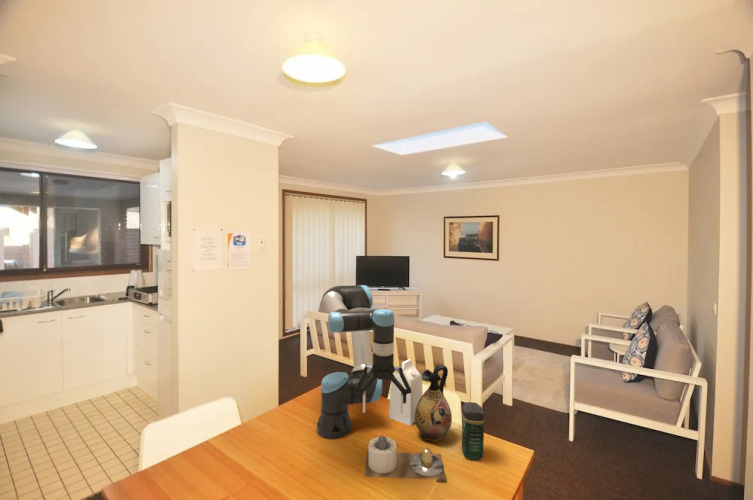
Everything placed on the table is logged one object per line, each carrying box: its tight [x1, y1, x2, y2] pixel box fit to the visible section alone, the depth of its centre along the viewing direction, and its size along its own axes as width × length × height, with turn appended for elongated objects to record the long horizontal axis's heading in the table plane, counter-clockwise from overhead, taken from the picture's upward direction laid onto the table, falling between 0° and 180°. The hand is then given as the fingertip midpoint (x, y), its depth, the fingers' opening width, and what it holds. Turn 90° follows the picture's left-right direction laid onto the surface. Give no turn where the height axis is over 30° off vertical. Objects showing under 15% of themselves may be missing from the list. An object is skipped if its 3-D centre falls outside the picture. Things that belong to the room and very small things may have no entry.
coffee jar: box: [461, 401, 485, 461], centre depth 132 cm, size 10×8×19 cm
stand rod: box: [378, 435, 387, 450], centre depth 124 cm, size 3×3×10 cm
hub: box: [410, 447, 445, 477], centre depth 124 cm, size 12×12×6 cm
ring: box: [368, 436, 398, 473], centre depth 124 cm, size 10×10×7 cm
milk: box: [388, 358, 424, 427], centre depth 160 cm, size 12×12×26 cm
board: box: [364, 450, 447, 483], centre depth 124 cm, size 28×14×1 cm, turn 88°
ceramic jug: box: [414, 364, 453, 442], centre depth 144 cm, size 17×15×30 cm
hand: (382, 411), depth 124 cm, fingers open, 13 cm apart
